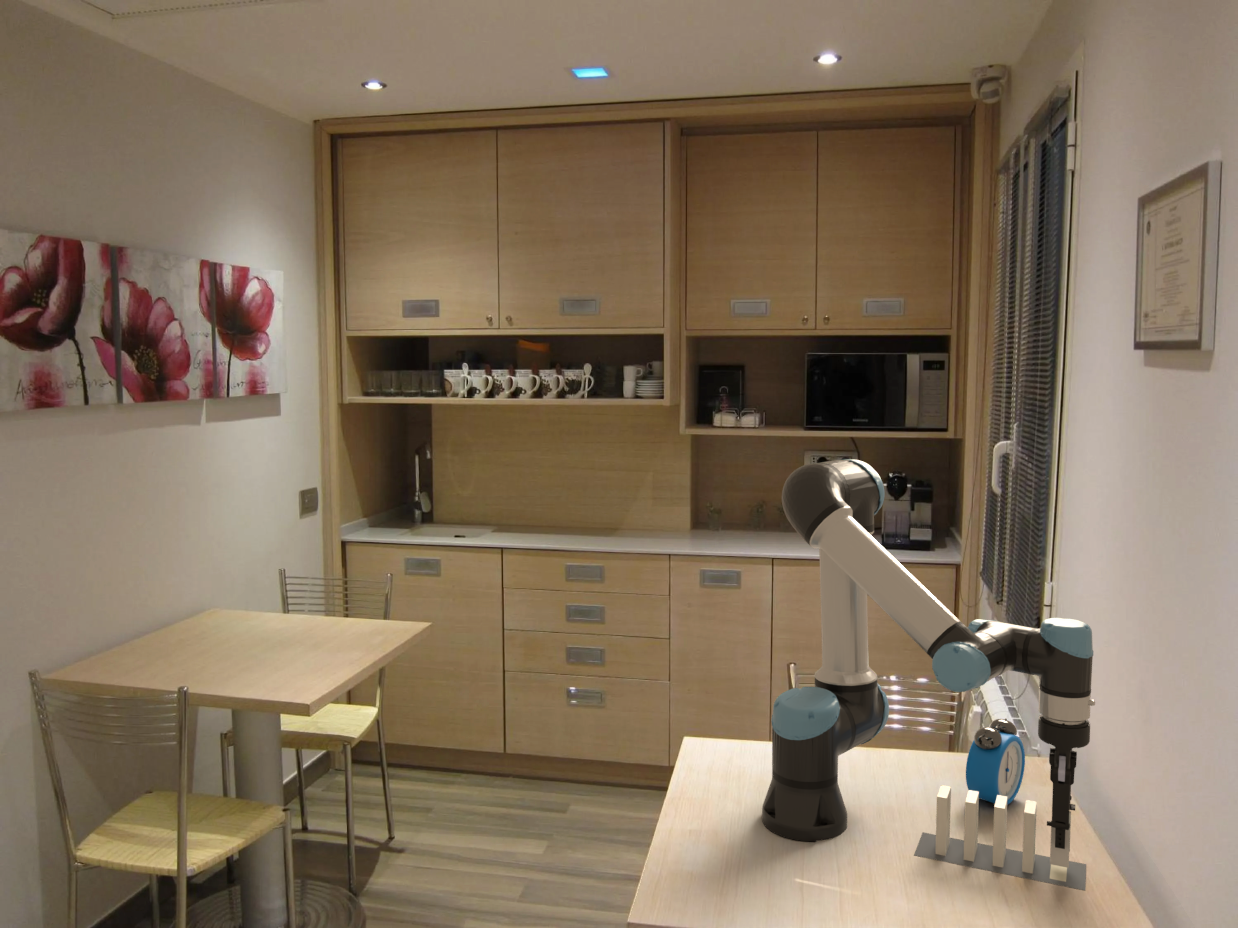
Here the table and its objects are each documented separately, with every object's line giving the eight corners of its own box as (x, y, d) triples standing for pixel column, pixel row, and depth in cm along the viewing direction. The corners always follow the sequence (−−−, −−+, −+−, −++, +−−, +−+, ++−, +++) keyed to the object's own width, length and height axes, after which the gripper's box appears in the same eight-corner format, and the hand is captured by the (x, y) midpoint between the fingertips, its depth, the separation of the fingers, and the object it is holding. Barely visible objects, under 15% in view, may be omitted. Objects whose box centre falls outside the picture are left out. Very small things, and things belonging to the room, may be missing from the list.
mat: (913, 856, 164) (913, 854, 164) (922, 833, 172) (922, 831, 172) (1085, 892, 152) (1085, 890, 152) (1086, 865, 160) (1086, 863, 160)
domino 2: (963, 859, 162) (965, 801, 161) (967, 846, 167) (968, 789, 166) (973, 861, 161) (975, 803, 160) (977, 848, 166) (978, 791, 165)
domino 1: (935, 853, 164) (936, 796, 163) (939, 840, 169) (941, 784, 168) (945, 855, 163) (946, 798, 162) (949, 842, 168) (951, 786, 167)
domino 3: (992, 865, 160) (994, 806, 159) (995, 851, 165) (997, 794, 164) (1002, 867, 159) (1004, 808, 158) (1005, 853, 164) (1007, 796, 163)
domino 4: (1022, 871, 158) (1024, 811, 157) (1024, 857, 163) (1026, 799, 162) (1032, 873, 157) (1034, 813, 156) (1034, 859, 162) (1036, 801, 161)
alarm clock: (995, 816, 178) (997, 737, 177) (962, 806, 182) (964, 728, 181) (1024, 794, 187) (1027, 718, 186) (993, 784, 192) (995, 710, 190)
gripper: (1089, 739, 146) (1084, 888, 148) (1091, 702, 162) (1086, 837, 164) (1035, 731, 149) (1031, 877, 151) (1041, 696, 165) (1038, 828, 167)
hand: (1060, 856), depth 158 cm, fingers closed on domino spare, 5 cm apart
